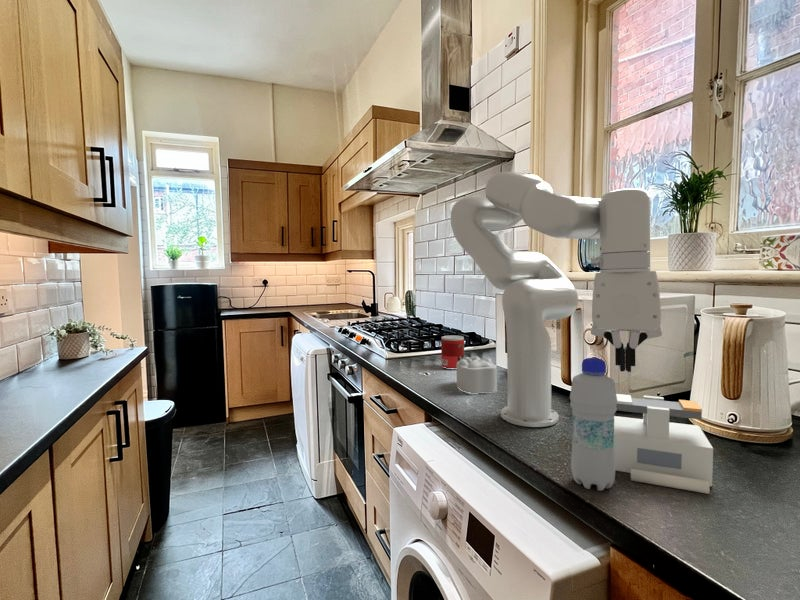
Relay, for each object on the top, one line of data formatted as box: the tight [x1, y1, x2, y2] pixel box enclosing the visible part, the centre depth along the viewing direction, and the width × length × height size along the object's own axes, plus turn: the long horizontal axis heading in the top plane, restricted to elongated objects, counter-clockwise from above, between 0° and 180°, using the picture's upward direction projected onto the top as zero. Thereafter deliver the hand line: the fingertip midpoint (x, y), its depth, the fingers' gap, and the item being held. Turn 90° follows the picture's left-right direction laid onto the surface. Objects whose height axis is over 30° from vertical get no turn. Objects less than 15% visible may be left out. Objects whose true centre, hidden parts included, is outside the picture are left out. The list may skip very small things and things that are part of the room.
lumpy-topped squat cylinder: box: [456, 355, 498, 393], centre depth 119 cm, size 10×13×9 cm
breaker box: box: [614, 395, 714, 487], centre depth 70 cm, size 10×14×11 cm
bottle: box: [569, 357, 618, 492], centre depth 64 cm, size 7×7×20 cm
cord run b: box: [630, 468, 711, 494], centre depth 63 cm, size 10×2×2 cm, turn 64°
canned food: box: [440, 334, 465, 368], centre depth 144 cm, size 8×8×11 cm
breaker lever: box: [616, 393, 703, 420], centre depth 70 cm, size 5×12×2 cm, turn 64°
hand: (625, 369), depth 71 cm, fingers closed
